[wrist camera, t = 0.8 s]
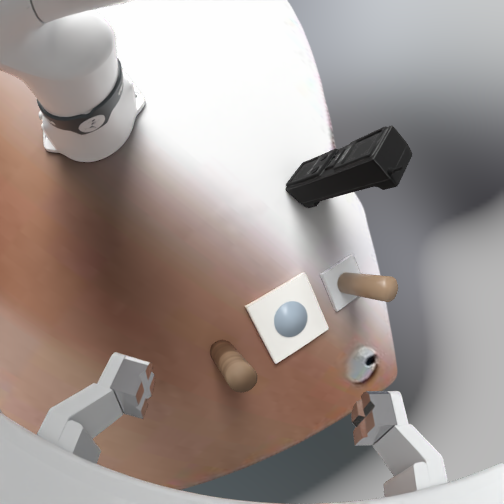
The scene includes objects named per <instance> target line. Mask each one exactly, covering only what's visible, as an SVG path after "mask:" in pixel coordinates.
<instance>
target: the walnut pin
mask: <svg viewBox="0 0 504 504" xmlns="http://www.w3.org/2000/svg"><path fill="white" fill-rule="evenodd" d="M210 354H211V357H212V358H213V360H214V362H215V363H216V365H217V367H218V368H219V370H220V372H221V373H222V375H223V376H224V378H225V380H226V381H227V383H228V385H229V386H230V388H231V389H232V390H234V391H236V392H246V391H249V390H250V389H252V388H253V387H254V386H255V384H256V382H257V373H256V371H255V370H254V369H253V368H252V366H251V365H250V364H249V363H248V362H247V361H246V360H245V359H244V358H243V357H242V356H241V354H240V353H239V352H238V351H237V350H236V349H235V348H234V347H233V346H232V344H231V343H230V342H228V341H226V340H220V341H217V342H215V343H214V344H213V345H212V347H211V350H210Z"/></svg>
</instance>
